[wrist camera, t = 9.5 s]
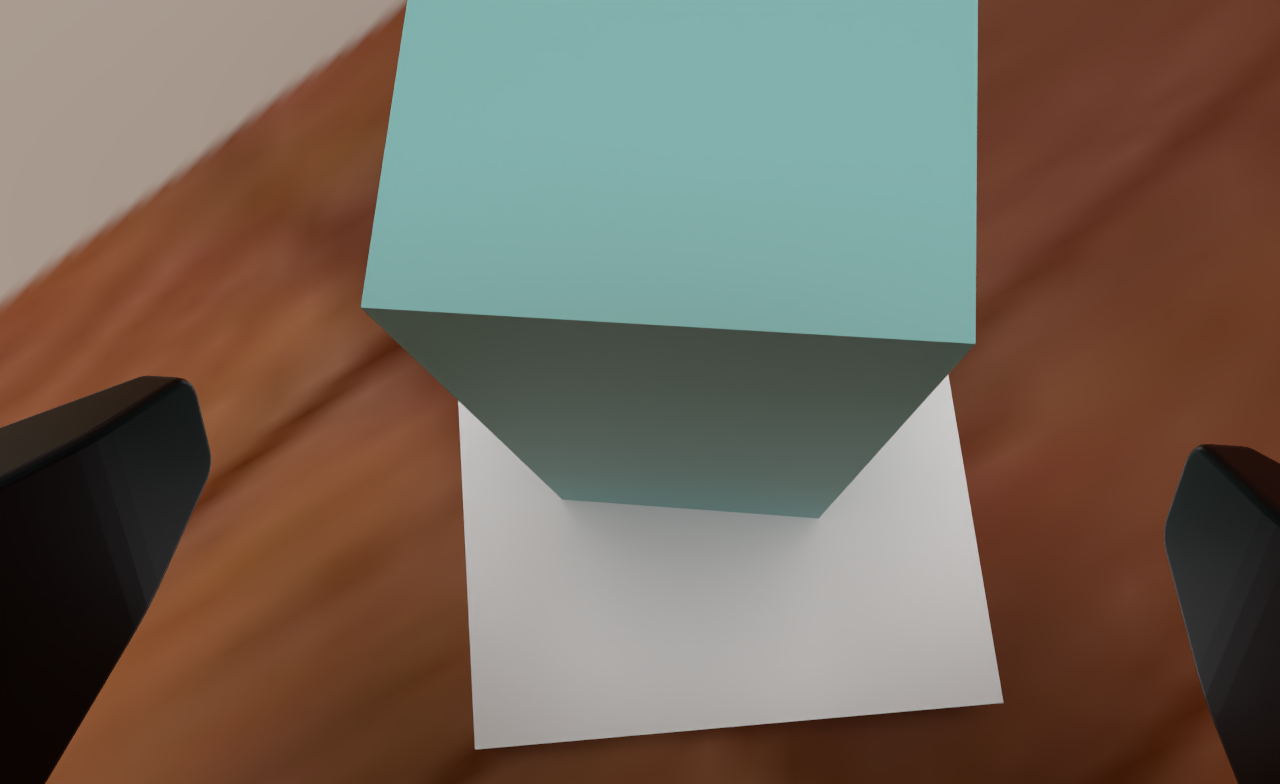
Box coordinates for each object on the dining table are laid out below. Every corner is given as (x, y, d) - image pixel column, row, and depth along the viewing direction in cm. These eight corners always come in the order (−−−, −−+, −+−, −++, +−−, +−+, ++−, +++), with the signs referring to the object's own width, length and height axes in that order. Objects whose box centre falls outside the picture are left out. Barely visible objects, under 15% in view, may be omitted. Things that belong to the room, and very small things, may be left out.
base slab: (973, 696, 19) (1003, 703, 17) (498, 738, 20) (475, 749, 18) (880, 118, 22) (896, 66, 20) (467, 164, 22) (444, 119, 20)
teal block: (819, 517, 18) (975, 343, 7) (562, 499, 18) (360, 306, 8) (828, 273, 19) (979, -187, 8) (586, 260, 20) (437, -197, 9)
